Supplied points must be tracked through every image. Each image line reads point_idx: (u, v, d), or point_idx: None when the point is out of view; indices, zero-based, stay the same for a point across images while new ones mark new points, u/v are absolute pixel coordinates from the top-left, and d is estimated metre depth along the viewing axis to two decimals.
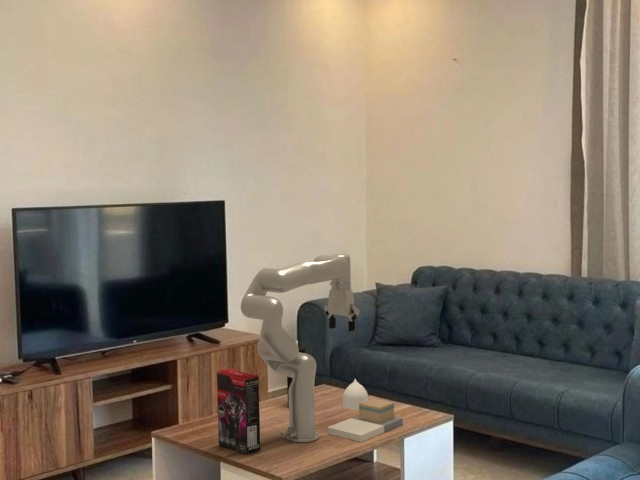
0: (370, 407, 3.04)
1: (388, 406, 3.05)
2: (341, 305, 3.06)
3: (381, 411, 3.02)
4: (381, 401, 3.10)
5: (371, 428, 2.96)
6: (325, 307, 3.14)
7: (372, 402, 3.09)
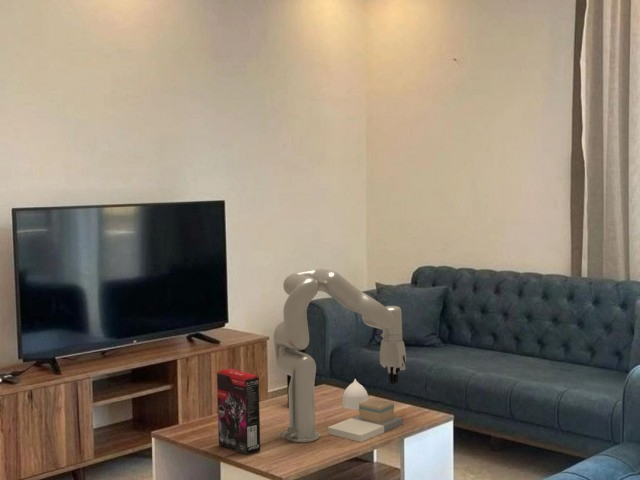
0: (370, 407, 3.04)
1: (388, 406, 3.05)
2: (393, 357, 3.11)
3: (381, 411, 3.02)
4: (381, 401, 3.10)
5: (371, 428, 2.96)
6: (383, 365, 3.18)
7: (372, 402, 3.09)
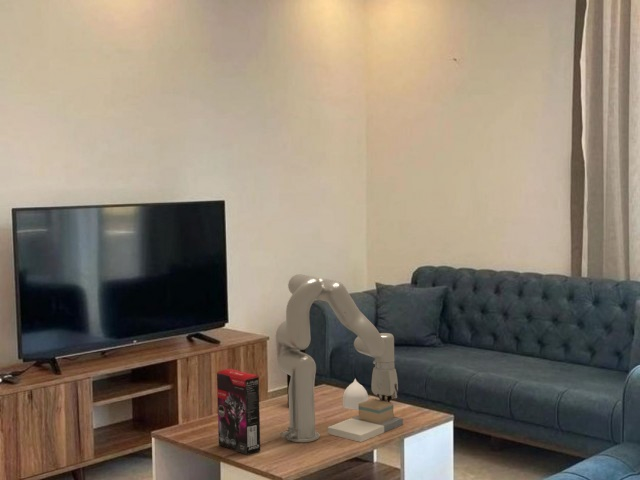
0: (369, 407, 3.04)
1: (387, 406, 3.05)
2: (385, 385, 3.08)
3: (381, 412, 3.02)
4: (380, 401, 3.09)
5: (371, 428, 2.96)
6: (374, 392, 3.14)
7: (372, 402, 3.09)
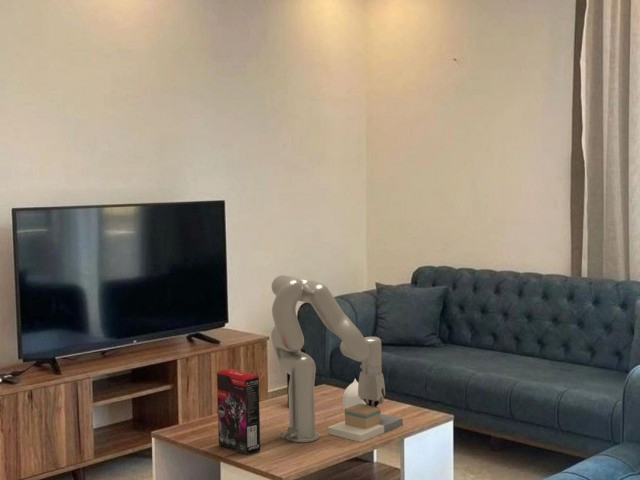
0: (356, 412, 2.97)
1: (374, 411, 2.98)
2: (372, 390, 3.02)
3: (367, 417, 2.95)
4: (367, 406, 3.03)
5: (371, 428, 2.96)
6: None
7: (358, 407, 3.02)
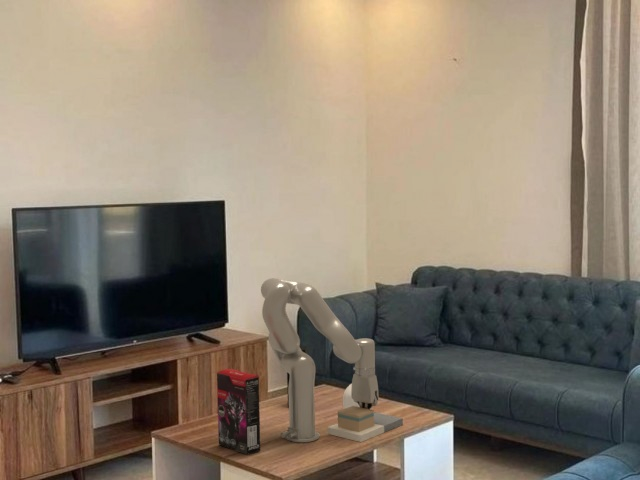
0: (349, 415, 2.94)
1: (367, 414, 2.95)
2: (365, 392, 2.98)
3: (360, 419, 2.92)
4: (360, 409, 3.00)
5: (371, 428, 2.96)
6: (354, 399, 3.05)
7: (351, 409, 2.99)
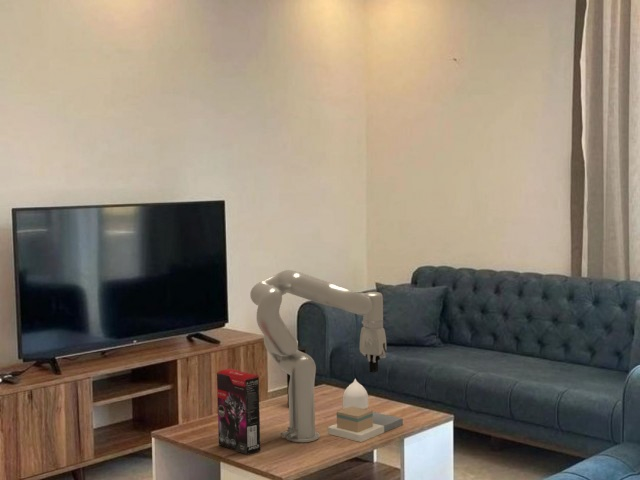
0: (348, 415, 2.94)
1: (366, 414, 2.95)
2: (373, 344, 3.02)
3: (359, 420, 2.92)
4: (359, 409, 2.99)
5: (371, 428, 2.96)
6: (363, 352, 3.08)
7: (350, 410, 2.99)
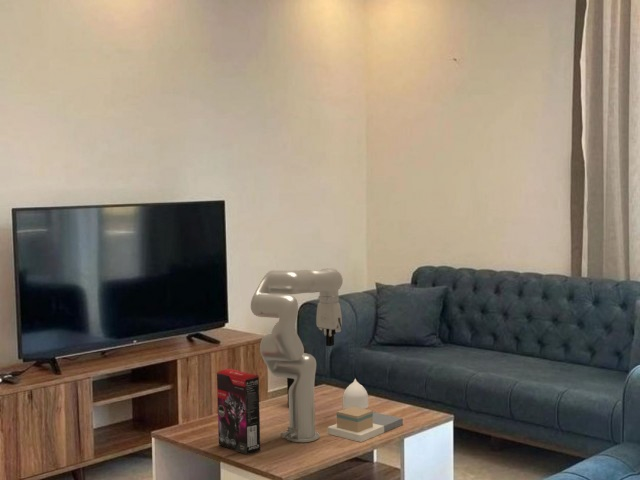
0: (348, 415, 2.94)
1: (366, 414, 2.95)
2: (329, 319, 3.13)
3: (359, 420, 2.92)
4: (359, 409, 2.99)
5: (371, 428, 2.96)
6: (320, 327, 3.19)
7: (350, 410, 2.99)
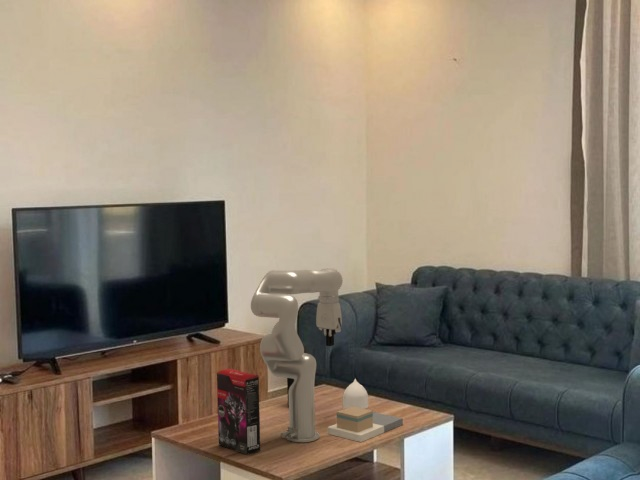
0: (348, 415, 2.94)
1: (366, 414, 2.95)
2: (329, 319, 3.13)
3: (359, 420, 2.92)
4: (359, 409, 2.99)
5: (371, 428, 2.96)
6: (319, 327, 3.19)
7: (350, 410, 2.99)
